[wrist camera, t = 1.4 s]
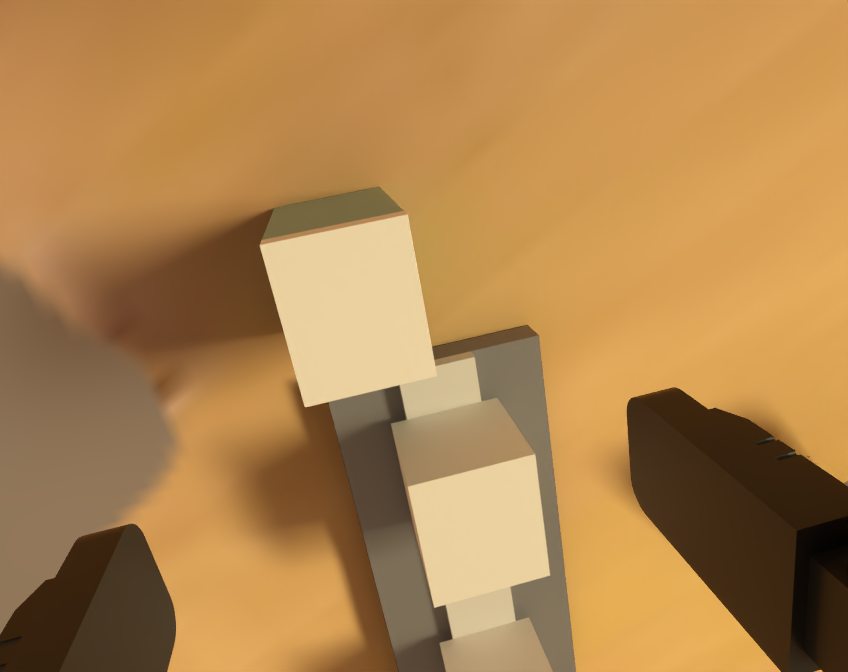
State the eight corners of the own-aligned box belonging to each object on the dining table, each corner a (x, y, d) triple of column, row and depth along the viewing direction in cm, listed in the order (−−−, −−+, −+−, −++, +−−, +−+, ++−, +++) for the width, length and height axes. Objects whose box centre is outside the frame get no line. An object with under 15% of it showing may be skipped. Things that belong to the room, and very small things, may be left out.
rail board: (323, 372, 28) (327, 451, 21) (527, 325, 29) (592, 386, 22) (408, 700, 36) (431, 833, 29) (566, 654, 37) (622, 772, 30)
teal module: (274, 207, 25) (259, 244, 18) (379, 186, 26) (407, 214, 18) (306, 328, 27) (304, 407, 20) (402, 307, 28) (437, 376, 20)
